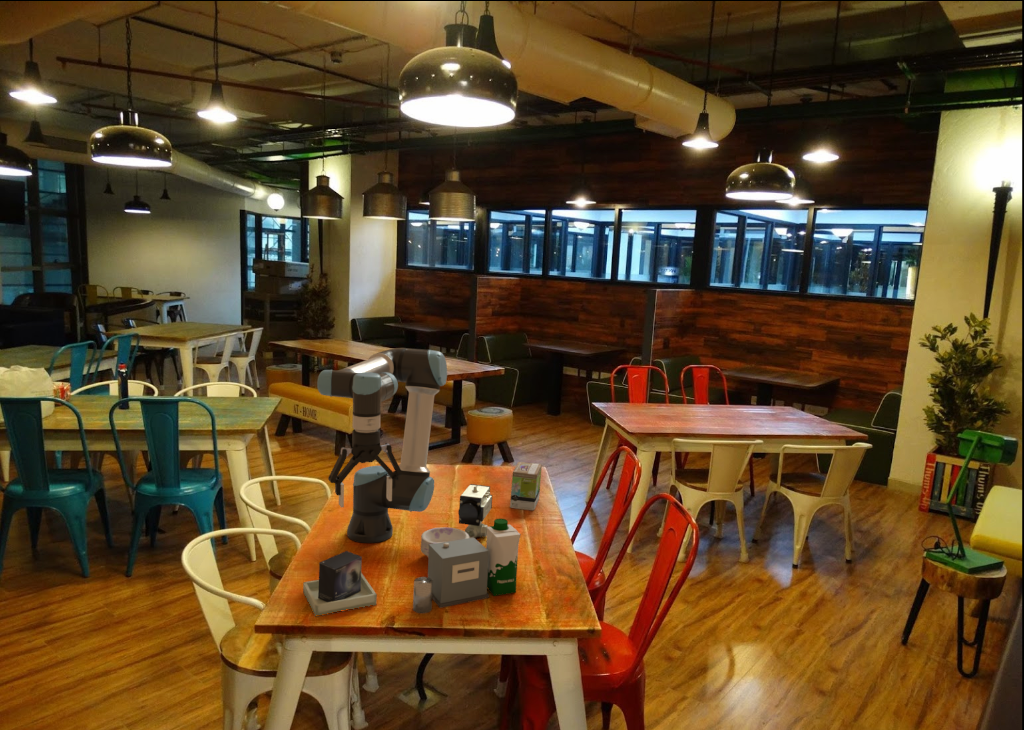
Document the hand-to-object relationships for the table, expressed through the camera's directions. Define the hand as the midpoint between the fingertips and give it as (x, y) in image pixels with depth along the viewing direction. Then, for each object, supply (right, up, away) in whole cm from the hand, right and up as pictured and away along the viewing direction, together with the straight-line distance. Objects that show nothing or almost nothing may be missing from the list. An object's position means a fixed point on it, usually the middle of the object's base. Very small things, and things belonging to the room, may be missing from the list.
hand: (365, 502), depth 196 cm
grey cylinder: (+17, -28, -5) cm, 33 cm away
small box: (-7, -25, -2) cm, 26 cm away
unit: (+25, -27, +4) cm, 37 cm away
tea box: (+46, -16, +81) cm, 95 cm away
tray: (-7, -26, -2) cm, 27 cm away
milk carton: (+38, -27, +8) cm, 47 cm away
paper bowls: (+20, -23, +27) cm, 40 cm away
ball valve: (+28, -21, +46) cm, 58 cm away
